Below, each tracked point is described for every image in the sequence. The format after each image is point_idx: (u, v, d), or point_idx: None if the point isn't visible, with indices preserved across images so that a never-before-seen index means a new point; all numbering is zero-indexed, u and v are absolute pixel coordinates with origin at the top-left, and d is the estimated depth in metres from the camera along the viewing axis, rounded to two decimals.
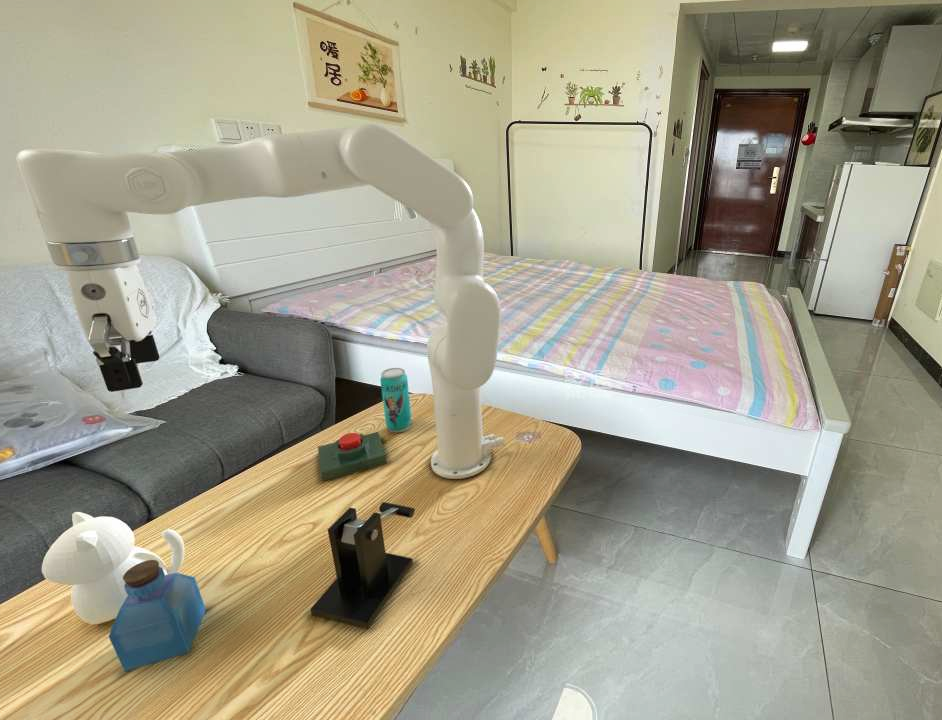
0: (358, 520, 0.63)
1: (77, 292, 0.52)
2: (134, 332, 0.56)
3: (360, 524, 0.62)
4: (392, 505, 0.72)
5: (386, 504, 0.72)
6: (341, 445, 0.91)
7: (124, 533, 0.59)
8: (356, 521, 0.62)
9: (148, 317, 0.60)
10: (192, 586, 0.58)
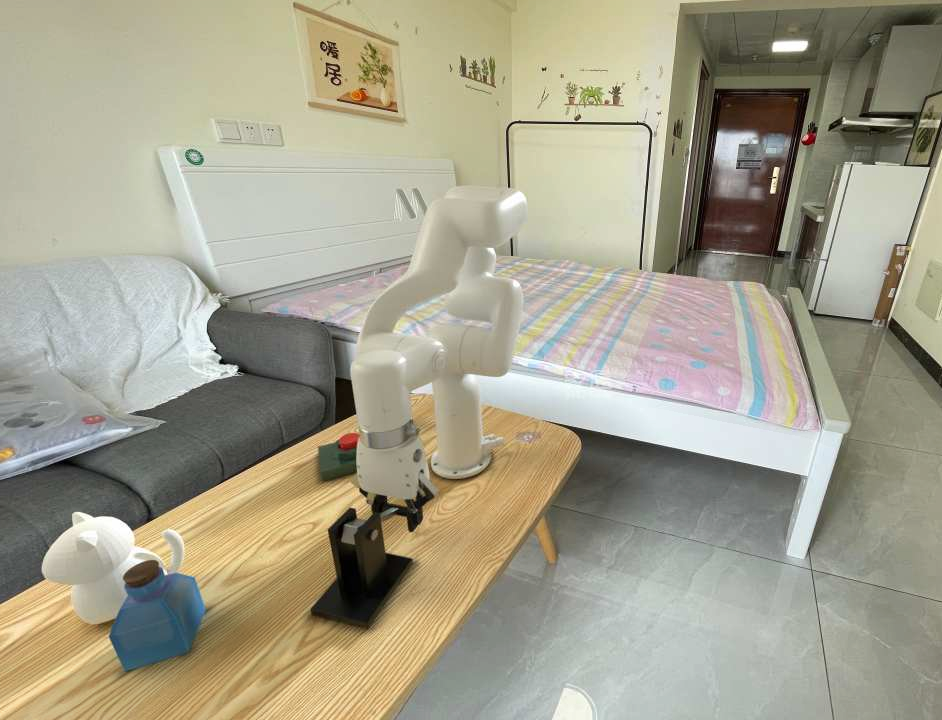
0: (358, 520, 0.63)
1: (411, 460, 0.66)
2: None
3: (360, 524, 0.62)
4: (392, 505, 0.72)
5: (386, 504, 0.72)
6: (341, 445, 0.91)
7: (124, 533, 0.59)
8: (356, 521, 0.62)
9: None
10: (192, 586, 0.58)
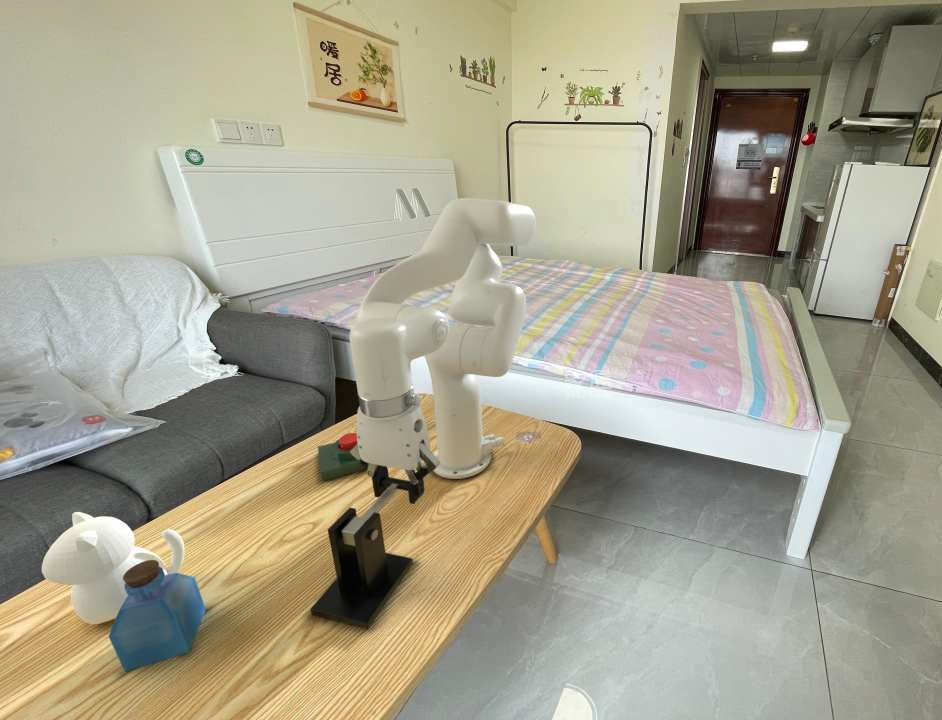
0: (355, 520, 0.62)
1: (412, 430, 0.65)
2: None
3: (357, 527, 0.61)
4: (391, 481, 0.71)
5: (385, 480, 0.71)
6: (341, 445, 0.91)
7: (124, 533, 0.59)
8: (353, 523, 0.62)
9: None
10: (192, 586, 0.58)
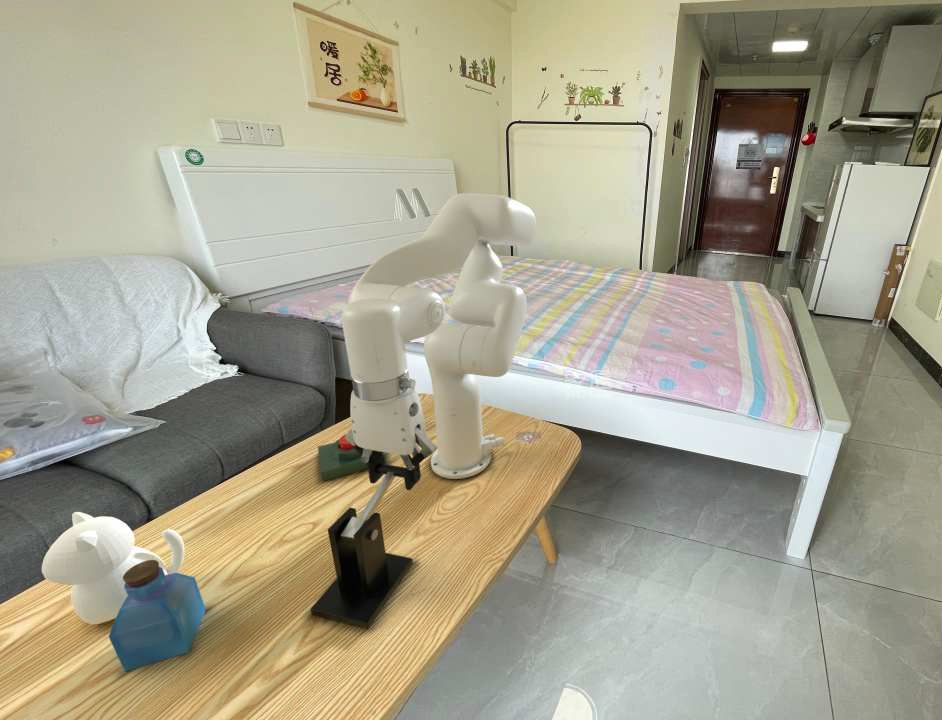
0: (353, 521, 0.62)
1: (407, 414, 0.63)
2: (426, 432, 0.69)
3: (356, 530, 0.61)
4: (387, 469, 0.69)
5: (380, 468, 0.69)
6: (341, 445, 0.91)
7: (124, 533, 0.59)
8: (351, 525, 0.61)
9: None
10: (192, 586, 0.58)
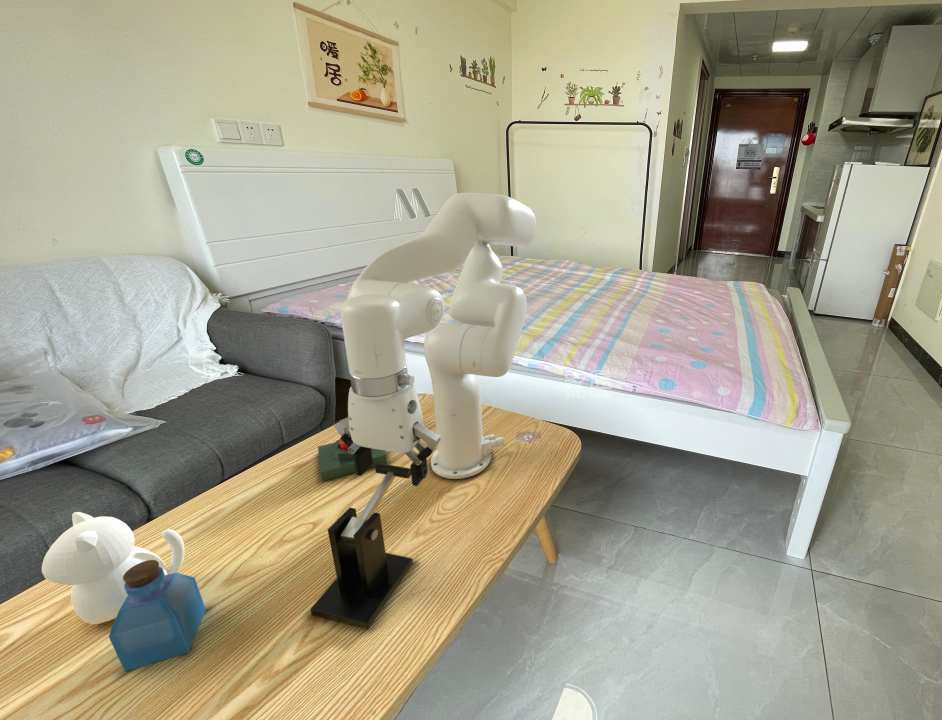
0: (353, 521, 0.62)
1: (405, 411, 0.63)
2: None
3: (356, 530, 0.61)
4: (387, 469, 0.69)
5: (381, 468, 0.69)
6: (341, 445, 0.91)
7: (124, 533, 0.59)
8: (351, 525, 0.61)
9: None
10: (192, 586, 0.58)
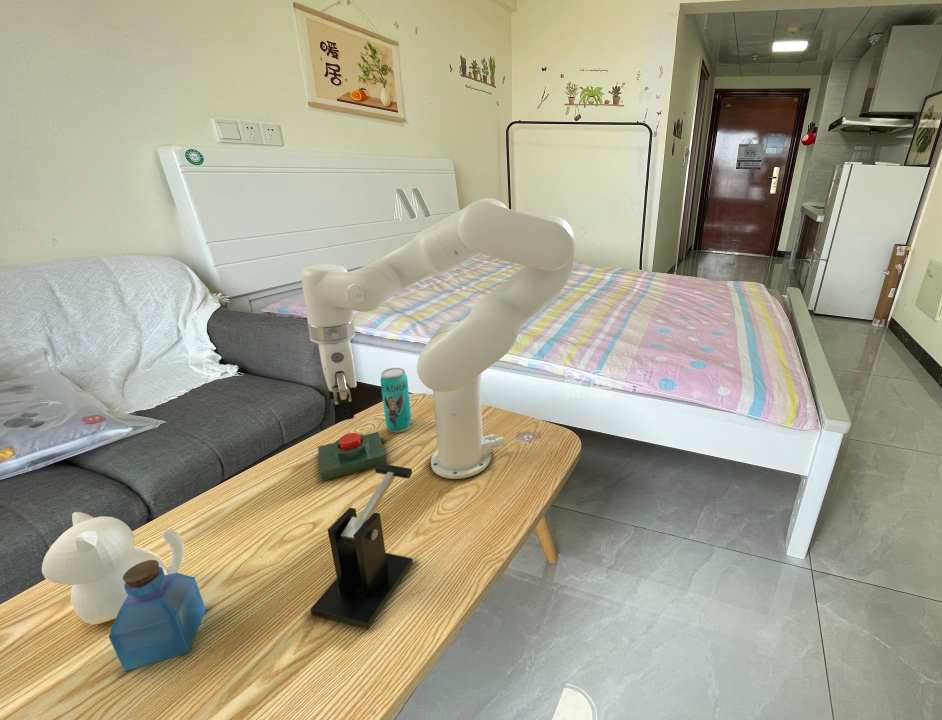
0: (353, 521, 0.62)
1: (328, 358, 0.80)
2: (355, 382, 0.84)
3: (356, 530, 0.61)
4: (387, 469, 0.69)
5: (381, 468, 0.69)
6: (341, 445, 0.91)
7: (124, 533, 0.59)
8: (351, 525, 0.61)
9: None
10: (192, 586, 0.58)
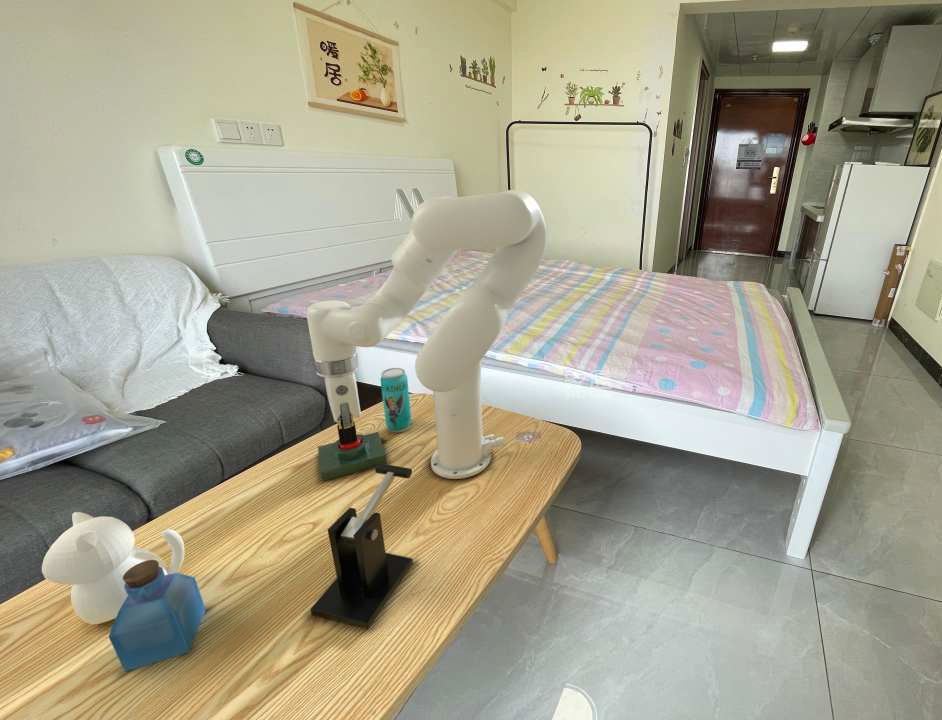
0: (353, 521, 0.62)
1: (333, 391, 0.83)
2: (359, 413, 0.87)
3: (356, 530, 0.61)
4: (387, 469, 0.69)
5: (381, 468, 0.69)
6: (342, 448, 0.91)
7: (124, 533, 0.59)
8: (351, 525, 0.61)
9: None
10: (192, 586, 0.58)
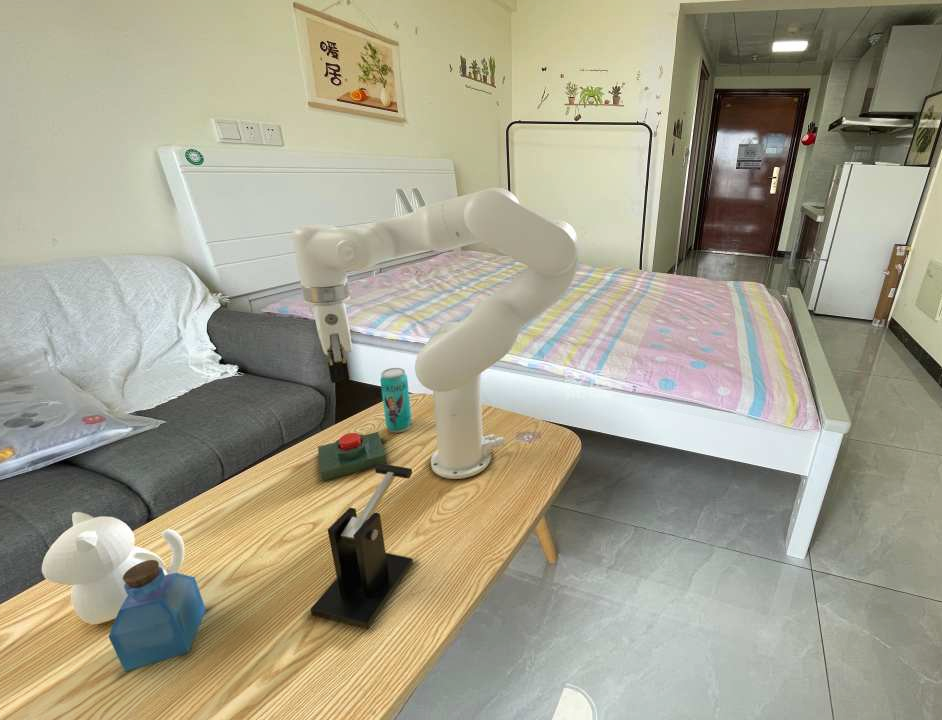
0: (353, 521, 0.62)
1: (322, 320, 0.78)
2: (350, 346, 0.82)
3: (356, 530, 0.61)
4: (387, 469, 0.69)
5: (381, 468, 0.69)
6: (341, 445, 0.91)
7: (124, 533, 0.59)
8: (351, 525, 0.61)
9: None
10: (192, 586, 0.58)
